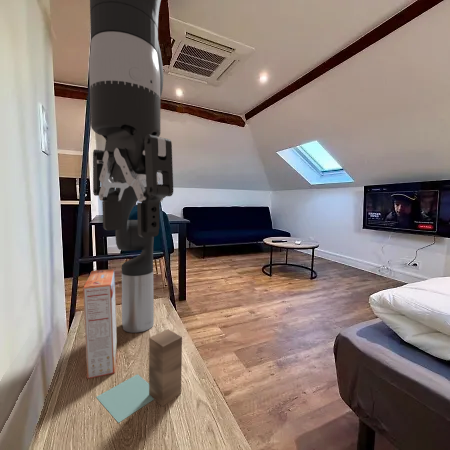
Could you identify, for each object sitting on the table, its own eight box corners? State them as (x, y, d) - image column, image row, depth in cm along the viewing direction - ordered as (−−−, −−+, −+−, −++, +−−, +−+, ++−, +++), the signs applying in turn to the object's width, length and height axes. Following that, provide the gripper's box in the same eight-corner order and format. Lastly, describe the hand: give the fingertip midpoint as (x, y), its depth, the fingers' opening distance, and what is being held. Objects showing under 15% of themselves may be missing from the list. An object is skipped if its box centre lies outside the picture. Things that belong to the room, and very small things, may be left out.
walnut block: (149, 394, 51) (149, 337, 50) (167, 382, 54) (168, 329, 53) (162, 406, 48) (163, 346, 47) (181, 393, 52) (182, 337, 50)
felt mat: (96, 397, 50) (96, 396, 50) (137, 374, 57) (137, 374, 57) (118, 423, 44) (118, 422, 44) (161, 394, 51) (161, 393, 51)
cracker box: (93, 346, 68) (90, 269, 66) (117, 342, 70) (116, 268, 68) (84, 380, 55) (81, 286, 53) (115, 374, 57) (112, 283, 55)
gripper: (192, 87, 27) (191, 236, 29) (126, 114, 37) (128, 226, 38) (126, 57, 22) (129, 244, 23) (68, 98, 31) (73, 229, 33)
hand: (128, 232), depth 31 cm, fingers open, 8 cm apart
